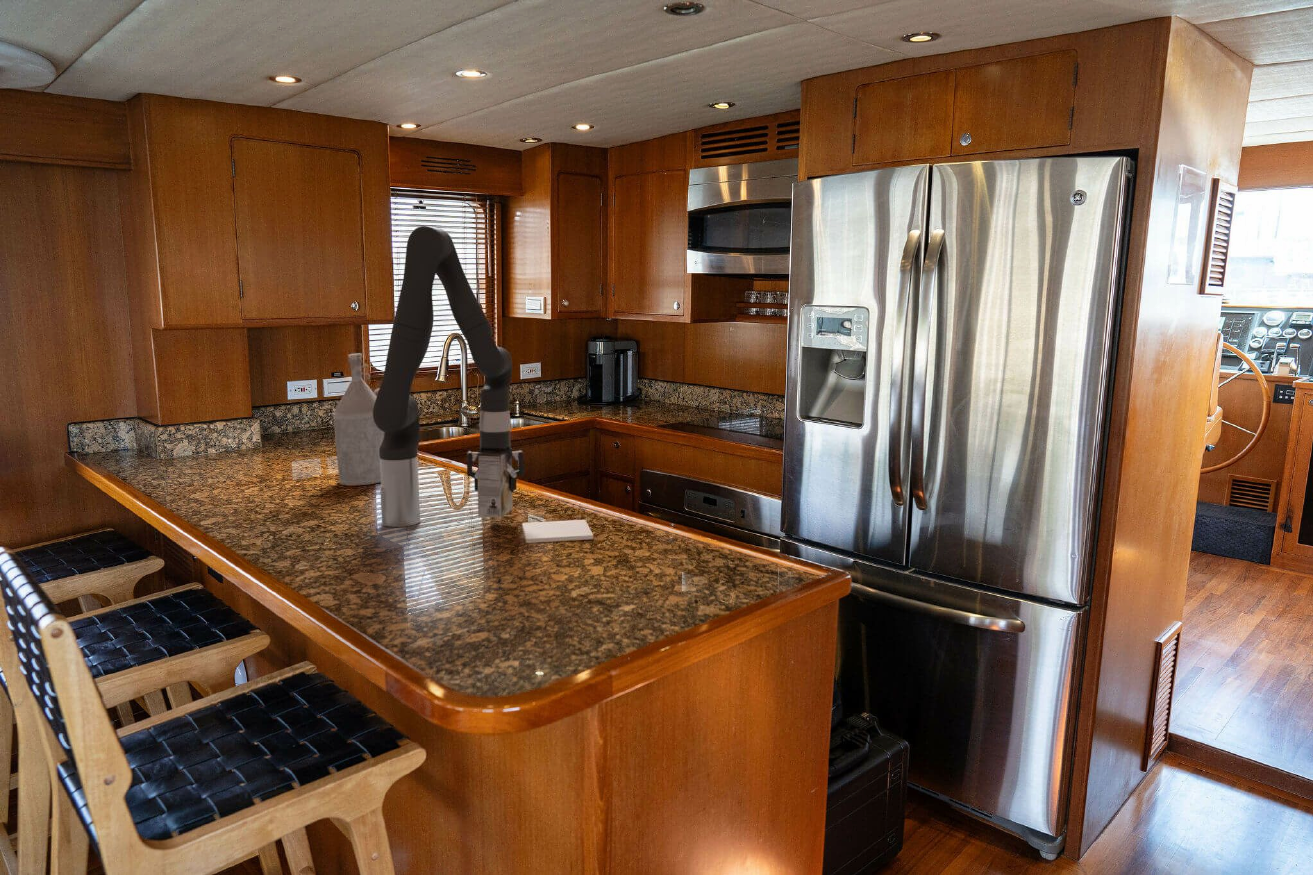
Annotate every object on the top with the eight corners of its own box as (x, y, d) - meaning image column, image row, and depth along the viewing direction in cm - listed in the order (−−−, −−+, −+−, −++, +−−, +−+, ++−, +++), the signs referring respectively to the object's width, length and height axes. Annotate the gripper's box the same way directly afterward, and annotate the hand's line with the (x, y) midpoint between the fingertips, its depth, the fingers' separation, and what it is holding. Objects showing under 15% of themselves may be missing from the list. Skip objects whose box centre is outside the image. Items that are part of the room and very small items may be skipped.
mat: (526, 543, 204) (526, 538, 203) (522, 526, 217) (522, 523, 217) (593, 539, 207) (593, 535, 207) (585, 523, 220) (585, 519, 220)
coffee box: (489, 507, 222) (489, 446, 219) (513, 508, 221) (513, 447, 218) (477, 516, 213) (476, 453, 210) (502, 518, 212) (501, 454, 209)
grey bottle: (402, 479, 269) (395, 352, 261) (351, 489, 256) (343, 355, 248) (379, 473, 277) (373, 350, 270) (329, 482, 264) (321, 353, 257)
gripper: (465, 431, 208) (466, 496, 211) (525, 430, 211) (525, 494, 214) (465, 426, 215) (466, 489, 218) (523, 425, 218) (523, 487, 221)
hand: (495, 491), depth 216 cm, fingers closed on coffee box, 8 cm apart
